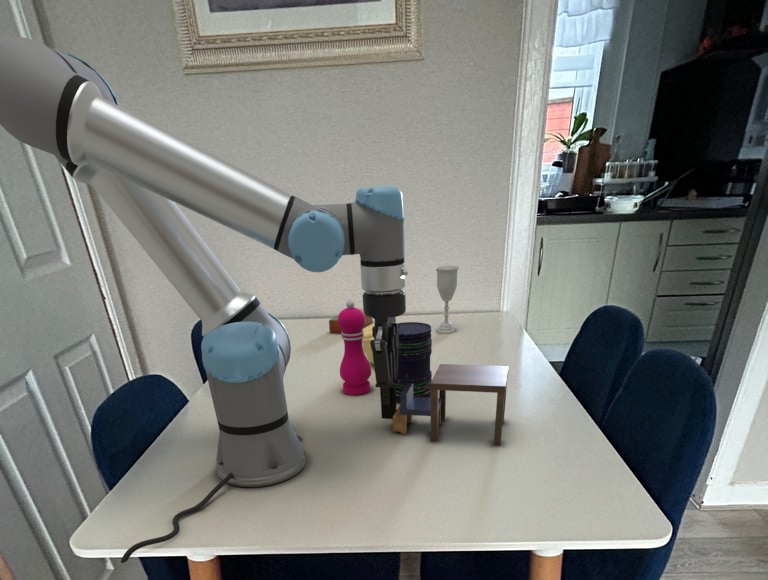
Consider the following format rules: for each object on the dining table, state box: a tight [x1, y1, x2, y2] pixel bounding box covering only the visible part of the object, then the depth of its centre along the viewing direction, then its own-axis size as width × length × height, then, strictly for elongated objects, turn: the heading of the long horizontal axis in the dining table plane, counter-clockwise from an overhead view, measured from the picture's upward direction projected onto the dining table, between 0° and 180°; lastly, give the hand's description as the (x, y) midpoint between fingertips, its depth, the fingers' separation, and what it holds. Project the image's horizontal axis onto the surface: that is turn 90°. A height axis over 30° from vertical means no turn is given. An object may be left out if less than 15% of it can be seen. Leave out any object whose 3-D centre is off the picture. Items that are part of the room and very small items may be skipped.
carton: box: [328, 308, 374, 335], centre depth 174 cm, size 8×16×4 cm, turn 158°
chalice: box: [435, 265, 460, 334], centre depth 161 cm, size 7×7×18 cm
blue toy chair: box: [392, 383, 442, 435], centre depth 104 cm, size 8×6×8 cm
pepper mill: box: [337, 299, 372, 396], centre depth 120 cm, size 7×7×20 cm
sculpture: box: [362, 322, 374, 365], centre depth 139 cm, size 12×12×11 cm
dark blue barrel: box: [394, 321, 433, 404], centre depth 117 cm, size 10×10×15 cm
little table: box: [430, 363, 510, 447], centre depth 101 cm, size 11×13×11 cm
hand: (389, 417), depth 106 cm, fingers closed
